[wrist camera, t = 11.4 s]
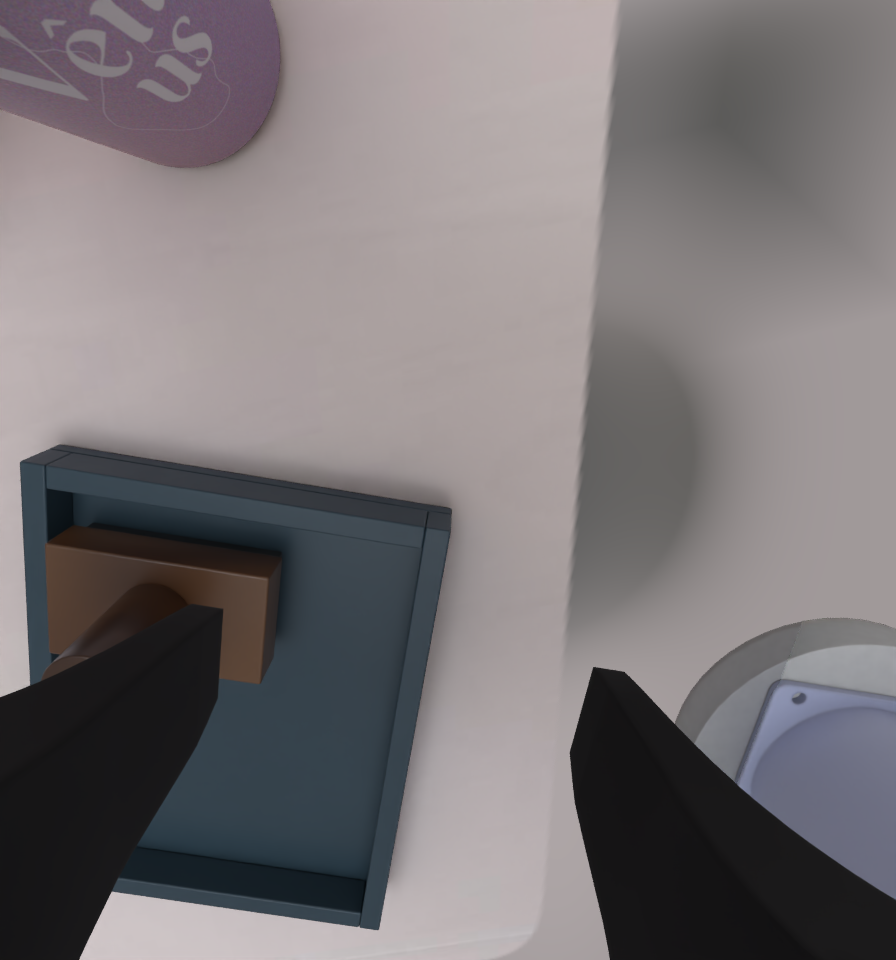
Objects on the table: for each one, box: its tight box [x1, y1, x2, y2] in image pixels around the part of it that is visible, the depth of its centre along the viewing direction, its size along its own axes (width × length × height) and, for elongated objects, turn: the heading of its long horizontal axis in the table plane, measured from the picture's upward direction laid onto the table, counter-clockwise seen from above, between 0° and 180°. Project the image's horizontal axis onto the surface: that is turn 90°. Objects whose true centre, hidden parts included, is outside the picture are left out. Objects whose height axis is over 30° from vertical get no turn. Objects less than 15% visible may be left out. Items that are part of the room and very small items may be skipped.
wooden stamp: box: [41, 523, 282, 684], centre depth 20 cm, size 7×4×6 cm, turn 81°
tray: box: [20, 445, 452, 930], centre depth 24 cm, size 14×18×2 cm
